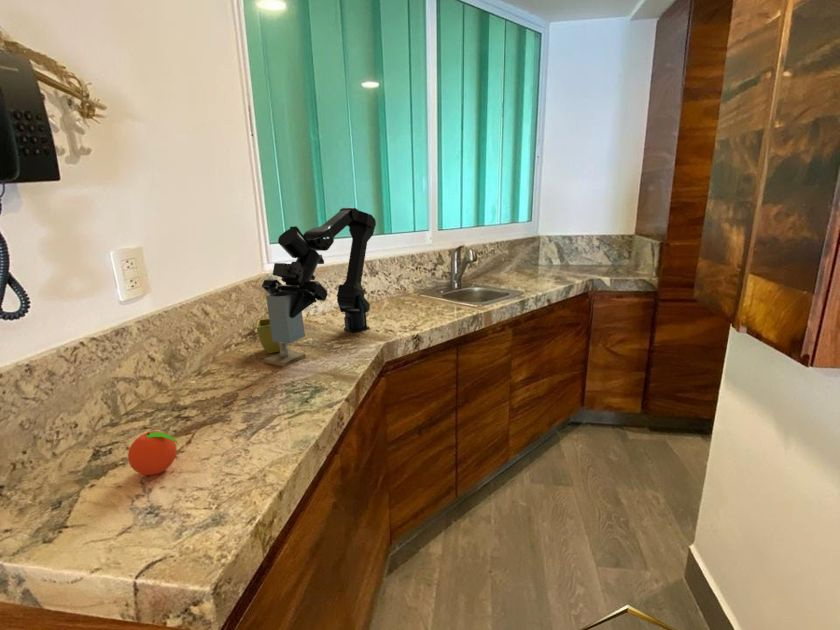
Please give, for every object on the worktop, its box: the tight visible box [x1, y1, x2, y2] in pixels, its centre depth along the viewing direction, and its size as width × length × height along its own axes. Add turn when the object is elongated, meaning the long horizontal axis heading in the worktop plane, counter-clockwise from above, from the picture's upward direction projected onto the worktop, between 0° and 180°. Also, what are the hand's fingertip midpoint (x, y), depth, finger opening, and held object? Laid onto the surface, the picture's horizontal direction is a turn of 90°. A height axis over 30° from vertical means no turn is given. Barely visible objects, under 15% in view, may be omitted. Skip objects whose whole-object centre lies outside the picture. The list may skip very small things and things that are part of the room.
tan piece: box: [263, 342, 307, 368], centre depth 124 cm, size 8×8×5 cm
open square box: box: [265, 291, 306, 344], centre depth 119 cm, size 6×6×12 cm
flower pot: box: [255, 318, 289, 354], centre depth 132 cm, size 9×9×9 cm
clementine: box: [127, 430, 179, 476], centre depth 74 cm, size 8×7×7 cm
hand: (282, 316), depth 118 cm, fingers closed on open square box, 6 cm apart
